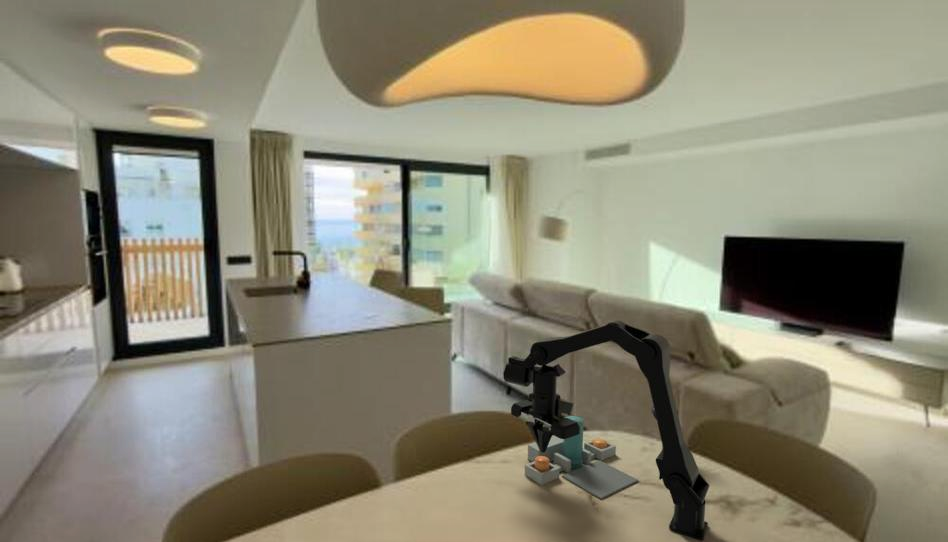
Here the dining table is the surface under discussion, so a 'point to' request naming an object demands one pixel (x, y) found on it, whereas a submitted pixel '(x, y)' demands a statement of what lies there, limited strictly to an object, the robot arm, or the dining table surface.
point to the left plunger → (542, 463)
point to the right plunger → (600, 443)
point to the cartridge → (574, 445)
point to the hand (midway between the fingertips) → (542, 451)
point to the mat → (600, 479)
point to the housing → (562, 458)
